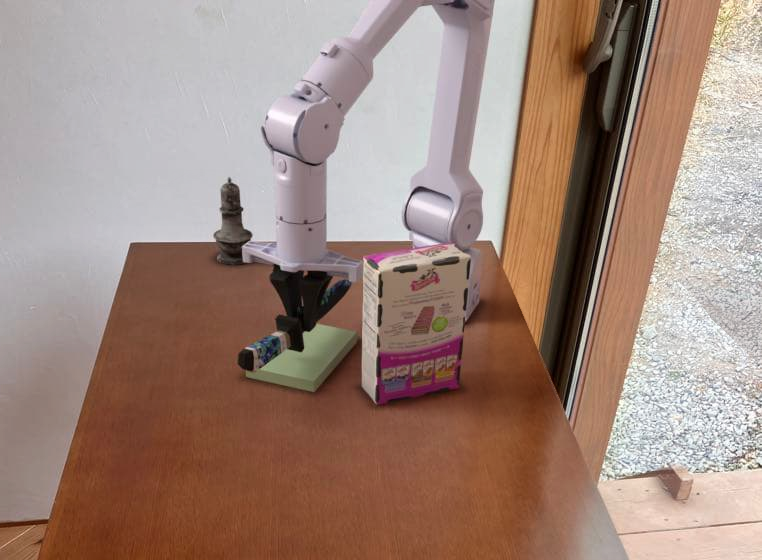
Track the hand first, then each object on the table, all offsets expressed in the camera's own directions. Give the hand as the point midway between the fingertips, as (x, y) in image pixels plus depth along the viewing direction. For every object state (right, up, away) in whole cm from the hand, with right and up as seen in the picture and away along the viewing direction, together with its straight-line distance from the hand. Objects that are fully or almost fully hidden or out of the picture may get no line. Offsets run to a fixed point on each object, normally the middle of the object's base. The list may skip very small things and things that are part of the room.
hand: (302, 326), depth 108 cm
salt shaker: (-12, +17, +27) cm, 34 cm away
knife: (0, -1, +1) cm, 2 cm away
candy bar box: (+13, -8, -2) cm, 15 cm away
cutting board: (0, -3, +3) cm, 4 cm away
